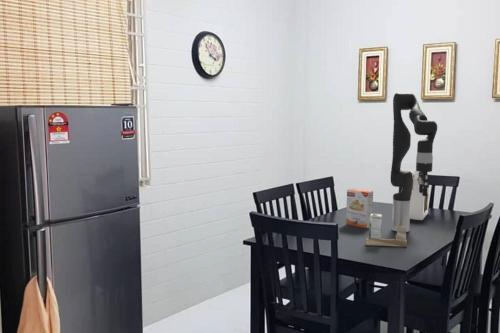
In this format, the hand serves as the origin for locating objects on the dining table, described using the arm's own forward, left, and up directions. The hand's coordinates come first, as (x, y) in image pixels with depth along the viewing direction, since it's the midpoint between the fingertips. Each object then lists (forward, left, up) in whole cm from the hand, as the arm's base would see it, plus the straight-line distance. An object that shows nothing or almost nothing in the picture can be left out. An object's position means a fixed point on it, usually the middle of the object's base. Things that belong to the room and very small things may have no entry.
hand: (423, 194), depth 248 cm
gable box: (-68, +10, -25) cm, 73 cm away
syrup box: (+1, -23, -25) cm, 34 cm away
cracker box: (-35, -27, -25) cm, 51 cm away
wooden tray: (-2, -17, -25) cm, 30 cm away
